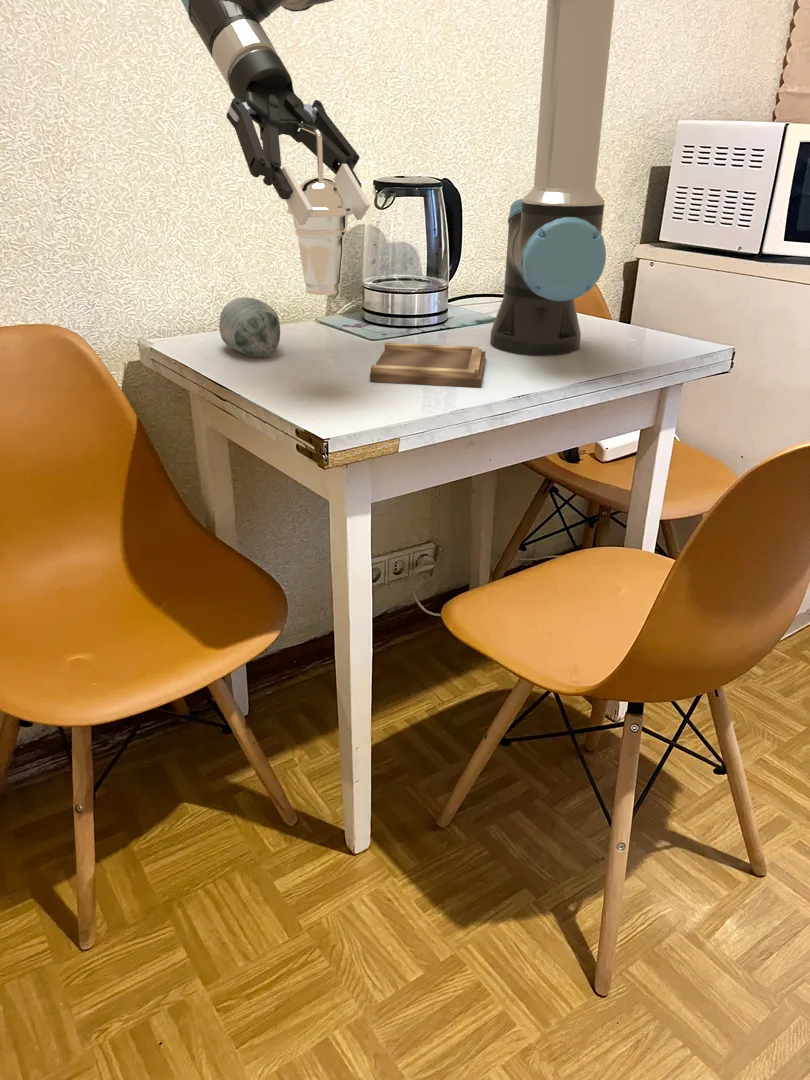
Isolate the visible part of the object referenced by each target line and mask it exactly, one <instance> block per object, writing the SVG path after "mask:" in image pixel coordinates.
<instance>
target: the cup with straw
mask: <svg viewBox="0 0 810 1080" xmlns="http://www.w3.org/2000/svg"><path fill="white" fill-rule="evenodd" d="M298 127H299V130H300V129H303V130H305V131H307V132H310V133H312V134H314V135H316V138H317V156H316V160H317V161H316V163H317V164H316V165H317V167H316V168H317V169H316V170H317V177H313V178H309V179H308V180H306V181H304V182H303V183H301V184H299V185H300V187H301V189H302V191H303V192H304V194H305V196H306V198H307V200H308V201H309V203H310V205H311V207H312V208H313V211H312V212H311V214H310V216H309V218H308V220H307V221H306V223H305V225H299V224H298V222H297V220H296V218H295V216H294V215H293V213H292V211H291V209H290V208H289V206H288V205H287V211H286V213H287V214H288V215H292V216H293V217H292V218H293V227H294V228H295V234H296V235H297V241H298V248H299V253H300V261H301V267H302V268H301V269H302V273H303V274H302V275H303V281H304V282H303V283H304V284H305V287H306V289H305V293H307V294H311V295H317V296H318V295H319V296H320V295H321V296H322V295H323V296H328V295H335V294H336V295H337V294H339V293H340V292H341V289H340V286H341V283H342V277H343V276H342V275H343V263H344V251H345V240H346V239H345V238H346V235H347V230H348V223H349V221H348V220H349V216H350V215H354V212H353V206H351V205H348V202H347V198H346V196H345V194H344V192H343V190H342V189H341V187H340V186H339V185H338V184H336V183H335V181H334V180H331V179H328V178H324V163H323V149H322V134H321V132H320V131H319V130H318V129H315V128H313V127H311V126H308V125H306V124H304V123H303V122H302V123H301V122H299V123H298Z"/></svg>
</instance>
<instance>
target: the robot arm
mask: <svg viewBox="0 0 810 1080" xmlns="http://www.w3.org/2000/svg"><path fill="white" fill-rule="evenodd" d="M332 1H334V0H181V3H182V5H183V6H184V9H185V11H186V13H187V16H188V18H189V21H190V23H191V24H192V26H193V27H194V29H195V30H196V32H197V34H198V35H199V37H200V39H201V41H202V42H203V44H204V46H205V47H206V49H207V51H208V53H209V55H210V56H211V58H212V60H213V61H214V64H215V65H216V66H217V67H216V68H217V69H218V70H219V72H220V74H221V76H222V77H223V79H224V81H225V82H226V84H227V85H228V86H229V89H230V92H231V94H232V95H233V97H234V98H233V97H232V100H231V102H230V105H229V107H228V109H227V113H226V115H225V116H226V119H227V120H228V121H229V123H230V124H231V125H232V127H233V128H234V130H235V133H236V136H237V139H238V142H239V144H240V147H241V150H242V153H243V156H244V158H245V162H246V164H247V167H248V170H249V171H248V172H249V173H250V175H251V176H252V177H253V178H259V177H260V176H262V177H263V179H262V182H263V183H264V184H265V186H269V187H271V186H272V187H273V188H274V189H275V191H276V193H277V195H278V196H279V198H280V199H281V200H283V201H285V202H286V204H287V207H288V206H289V208H290V209H291V211H292V213H293V215H294V216H295V218H296V220H297V222H298V224H299V225H305V223H306V221H307V220H308V218H309V216H310V214H311V212H312V211H313V208H312V207H311V205H310V203H309V201H308V200H307V198H306V196H305V194H304V192H303V191H302V189H301V187H300V185H301V184H299V182H298V180H297V179H296V177H295V174H294V173H293V172H292V170H291V168H290V166H289V165H283V166H282V159H281V158H282V157H281V146H280V137H279V136H281V135H286V136H290V137H291V138H292V139H293V140H294V141H295V142H297V143H299V144H300V143H302V144H303V145H304V146H305V147H306V148H307V149H309V151H310V152H311V153H313V155H315V157H317V138H316V135H314V134H312V133H310V132H307V131H305V130H303V129H300V128H299V127H298V123H299V122H301V123H304V124H306V125H308V126H311V127H313V128H315V129H318V130H319V131H320V132H321V134H322V149H323V165H325V166H326V167H327V168H328V169H329V170H330V171H332V173H333V174H335V175H334V178H333V182H335V183H336V184H338V185H339V186H340V187H341V189H342V190H343V192H344V194H345V196H346V198H347V202H348V205H351V206H353V212H354V214H353V216H354V218H355V219H356V221H361V220H362V219H363V218H364V216H365V214H366V213H367V212H368V211H369V209H370V207H371V206H372V205H371V203H370V201H369V200H368V198H367V196H366V194H365V192H364V190H363V189H362V182H360V179H359V177H358V176H357V174H356V173H355V171H354V169H355V167H356V166H357V163H358V162H359V160H360V158H361V157H360V155H359V154H358V153H357V151H356V149H354V147H353V146H352V145H351V144H350V141H348V140H347V139H346V137H345V135H344V134H343V133H342V132H341V131H340V130H339V128H338V127H337V126H336V124H335V123H334V122H333V120H332V119H331V118H330V116H328V114H327V112H326V109H325V106H324V105H323V103H322V102H321V101H320V100H317V99H315V100H314V101H313V103H312V104H307V103H304V101H302V99H301V98H300V97H299V96H298V95H296V93H295V92H294V91H295V90H294V87H293V80H292V77H291V74H290V73H289V71H288V69H287V68H286V66H285V64H284V63H283V61H282V59H281V58H280V56H279V55H278V53H277V50H276V48H275V46H274V45H273V43H272V42H271V40H270V38H269V37H268V35H267V33H266V32H265V29H264V28H263V27H262V25H261V24H260V23H262V22H263V21H264V20H265V19H267V18H268V17H270V16H271V14H272V13H274V12H275V11H277V9H279V8H280V7H282V8H283V9H284V10H286V11H289V12H297V13H299V12H305V11H308V10H309V9H311V8H312V7H313V6H317V5H322V4H326V3H329V2H332ZM615 1H616V0H547V4H546V15H545V17H546V18H545V31H544V44H543V55H542V56H543V57H542V59H543V60H542V73H541V86H540V98H539V99H540V101H539V112H538V113H539V115H538V126H537V127H538V128H537V138H536V139H537V140H536V141H537V142H536V156H535V167H534V168H535V169H534V179H533V181H534V183H533V187H532V189H531V190H530V191H529V192H528V193H527V194H526V195H525V196H524V197H523V198H520V199H516V200H514V201H513V202H512V204H511V205H510V208H509V215H508V218H507V223H508V228H507V229H508V234H507V243H506V244H507V246H506V260H505V274H504V289H503V297H502V301H501V303H500V306H499V308H498V311H497V314H496V315H495V319H494V321H493V324H492V327H491V330H490V344H491V345H492V346H493V347H494V348H496V349H499V350H501V351H502V350H503V351H506V352H511V353H515V354H521V355H522V354H523V355H535V356H536V355H537V356H539V355H540V356H550V355H551V356H552V355H563V354H569V353H573V352H575V351H577V350H578V349H580V345H581V336H582V334H581V328H580V323H579V319H578V313H577V309H576V304H575V299H577V298H579V297H582V296H584V295H585V294H587V293H588V292H589V291H590V290H591V289H592V288H593V287H594V286H595V285H596V284H597V283H598V281H599V279H600V278H601V276H602V274H603V272H604V269H605V265H606V261H607V260H606V259H607V251H606V243H605V240H604V237H603V235H602V229H603V220H604V210H605V199H604V198H603V196H601V194H600V193H599V192H598V190H597V188H596V184H597V182H596V181H597V174H598V173H597V172H598V165H599V164H598V163H599V154H600V143H601V136H602V135H601V134H602V125H603V117H604V115H603V114H604V107H605V106H604V105H605V104H604V103H605V95H606V88H607V87H606V86H607V78H608V67H609V66H608V65H609V59H610V51H611V49H610V48H611V38H612V31H613V30H612V29H613V22H614V21H613V19H614V10H615V3H616V2H615ZM254 123H256V124H257V125H258V127H259V135H260V136H259V135H258V133H257V130H256V127H255V124H254ZM261 142H262V143H261ZM281 166H282V168H281ZM293 215H292V216H293Z"/></svg>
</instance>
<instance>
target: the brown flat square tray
mask: <svg viewBox="0 0 810 1080" xmlns="http://www.w3.org/2000/svg"><path fill="white" fill-rule="evenodd" d="M485 364H486V351H483V349H480V347H479V346H468V345H467V346H465V345H462V346H461V345H444V344H443V345H441V344H424V343H399V342H385V344H384V350H383V352H382V353H381V355H380V357H379V358H378V360H377V361H376V363H375V364H371V366H370V373H369V383H370V382H371V383H386V384H405V385H406V384H407V385H422V386H423V385H425V386H440V387H441V386H445V387H463V388H480V389H481V386H482V382H483V374H484V367H485Z"/></svg>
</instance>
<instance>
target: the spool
mask: <svg viewBox="0 0 810 1080" xmlns="http://www.w3.org/2000/svg"><path fill="white" fill-rule="evenodd" d="M218 323H219V324H218V325H219V326H218V327H219V333H220V337H221V339H222V341H223V342H224V344H226V346H228V347H229V348H231V349H232V350H234V351H236V352H239V353H241V354H243V355H245V356H249V357H251V358H252V357H253V358H258V359H259V358H267V357H270V356H272V355H273V354H274V353H275V352H276V350H277V348H278V346H279V343H280V340H281V322H280V318H279V316H278V314H277V312H276V310H275V309H274V308H273V307H272V306H271V305H269V304H268V303H266V302H263V301H261V300H259V299H256V298H252V297H247V296H245V297H238V298H234V299H232V300H230V301H229V302H228V303H227V304H226V305H225V306H224V307H223V309H222V311H221V313H220V316H219V322H218Z"/></svg>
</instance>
